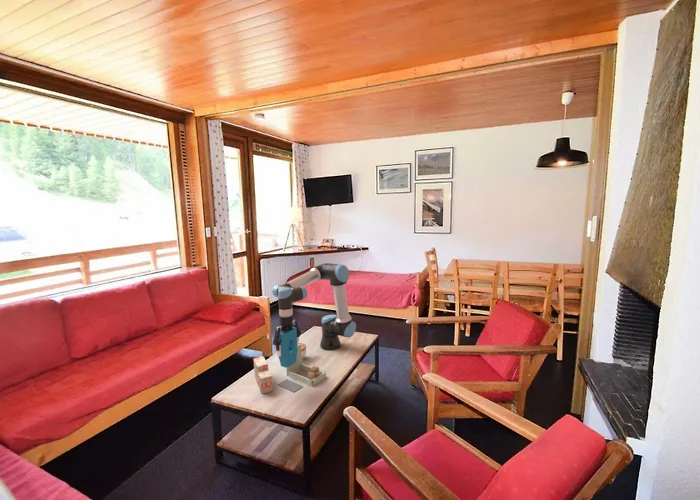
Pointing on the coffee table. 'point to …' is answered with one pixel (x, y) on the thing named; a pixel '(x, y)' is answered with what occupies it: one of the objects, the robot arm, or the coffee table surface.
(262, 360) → the stack of blocks
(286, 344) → the block
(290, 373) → the frame
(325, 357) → the coffee table surface
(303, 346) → the lidded bowl
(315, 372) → the offcut stack
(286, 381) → the felt mat
